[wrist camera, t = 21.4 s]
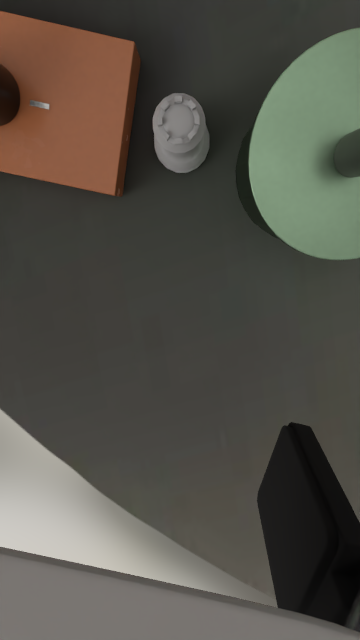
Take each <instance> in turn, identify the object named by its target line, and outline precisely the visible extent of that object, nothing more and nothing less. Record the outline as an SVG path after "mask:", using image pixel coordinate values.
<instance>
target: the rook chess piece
mask: <svg viewBox="0 0 360 640" xmlns="http://www.w3.org/2000/svg"><path fill="white" fill-rule="evenodd" d="M153 131H154V147H155V151H156V154H157V156H158V159H159V161H160V162H161V163H162V164H163V165H164V166H165V167H166V168H167V169H170V170H172V171H174V172H176V173H187V172H190V171H192V170H194V169H196V168H198V167H199V165H200V164H201V163H202V162H203V161H204V160H205V158H206V155H207V153H208V150H209V133H208V130H207V127H206V124H205V115H204V112H203V110H202V107H201V105H200V104H199V103H198V102H197V101H196V100H195V98H193V97H191V96H189V95H187V94H185V93H173V94H171V95H169V96H167V97H165V98H164V99H163V100H162V101H161V102H160V103H159V105H158V106H157V107H156V110H155V113H154V116H153Z"/></svg>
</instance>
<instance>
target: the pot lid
mask: <svg viewBox="0 0 360 640" xmlns="http://www.w3.org/2000/svg"><path fill="white" fill-rule="evenodd" d="M247 167H248V180H249V185H250V190H251V194H252V197H253V200H254V203H255V205H256V208H257V210H258V212H259V214H260V216H261V217H262V219H263V220H264V222H265V223H266V225H267V226H268V227H269V229H270V230H271V231H272V232H273V233H274V234H275V235H276V236H277V237H278V238H279V239H280V240H282V241H283V242H284V243H285V244H287V245H288V246H290V247H292V248H293V249H295V250H297V251H299V252H302V253H304V254H306V255H309V256H313V257H316V258H320V259H327V260H350V259H357V258H360V28H354V29H349V30H346V31H343V32H340V33H337V34H334V35H332V36H330V37H328V38H326V39H324V40H322V41H320V42H318V43H317V44H315V45H314V46H312V47H311V48H309V49H307V50H306V51H305V52H304V53H302V54H301V55H300V56H299V57H298V58H297V59H295V60H294V61H293V62H292V63H291V64H290V65H289V66H288V67H287V68H286V70H285V71H284V72H283V73H282V74H281V75H280V77H279V78H278V79H277V81H276V82H275V83H274V85H273V86H272V87H271V89H270V91H269V92H268V94H267V96H266V98H265V99H264V101H263V103H262V105H261V107H260V109H259V112H258V114H257V116H256V119H255V122H254V125H253V129H252V132H251V136H250V142H249V147H248V160H247Z"/></svg>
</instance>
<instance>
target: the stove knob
mask: <svg viewBox="0 0 360 640" xmlns="http://www.w3.org/2000/svg"><path fill="white" fill-rule="evenodd" d="M19 106H20V91H19V88H18V85H17V82H16V80H15V78H14V77H13V75H12V74H11V73H10V71H9V70H7V69H6V68H5V67H4V66H3V65H1V64H0V126H2V125H5V124H7V123H9V122H10V121H12V120H13V119H14V118H15V116H16V115H17V112H18V110H19Z"/></svg>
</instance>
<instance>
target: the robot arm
mask: <svg viewBox="0 0 360 640" xmlns="http://www.w3.org/2000/svg"><path fill="white" fill-rule="evenodd" d="M257 502H258V508H259V513H260V518H261V524H262V529H263V534H264V539H265V544H266V549H267V554H268V559H269V565H270V570H271V575H272V580H273V585H274V590H275V595H276V600H277V605H278V608H276V607H272V606H268V605H264V604H260V603H255V602H251V601H247V600H242V599H239V598H235V597H230V596H225V595H221V594H216V593H212V592H207V591H203V590H198V589H194V588H189V587H184V586H180V585H175V584H171V583H166V582H162V581H157V580H153V579H148V578H144V577H139V576H134V575H130V574H125V573H120V572H116V571H111V570H106V569H102V568H97V567H93V566H88V565H83V564H79V563H74V562H69V561H65V560H60V559H55V558H51V557H46V556H41V555H36V554H31V553H27V552H22V551H17V550H13V549H8V548H3V547H0V640H360V523H359V521H358V519H357V517H356V515H355V513H354V511H353V509H352V507H351V505H350V503H349V501H348V499H347V497H346V495H345V493H344V491H343V489H342V487H341V485H340V483H339V482H338V480H337V478H336V476H335V474H334V472H333V470H332V468H331V466H330V464H329V462H328V460H327V458H326V456H325V454H324V452H323V450H322V448H321V446H320V444H319V442H318V441H317V439H316V437H315V435H314V433H313V431H312V429H311V427H310V426H306V425H302V424H297V423H293V422H291V423H289V425H288V426H283V427H282V429H281V431H280V434H279V437H278V440H277V442H276V445H275V448H274V450H273V453H272V456H271V459H270V461H269V464H268V467H267V469H266V472H265V475H264V478H263V480H262V483H261V486H260V488H259V491H258V498H257Z"/></svg>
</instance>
